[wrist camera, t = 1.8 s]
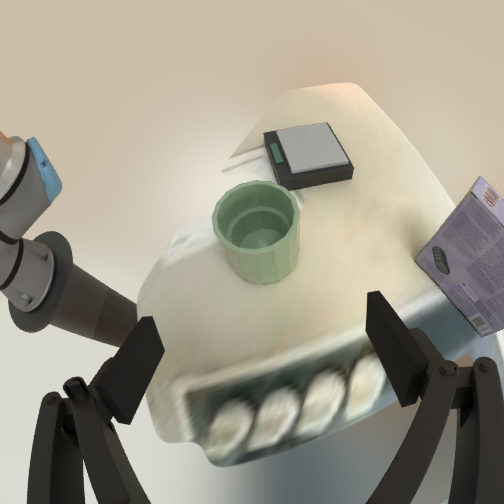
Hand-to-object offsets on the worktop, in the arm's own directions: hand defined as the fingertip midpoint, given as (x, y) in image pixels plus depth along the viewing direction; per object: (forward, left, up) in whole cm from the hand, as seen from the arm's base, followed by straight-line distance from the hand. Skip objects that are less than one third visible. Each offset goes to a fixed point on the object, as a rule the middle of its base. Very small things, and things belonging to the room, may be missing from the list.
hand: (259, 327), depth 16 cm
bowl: (-5, +14, -21) cm, 26 cm away
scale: (-1, +34, -21) cm, 40 cm away
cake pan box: (+27, +12, -21) cm, 37 cm away
